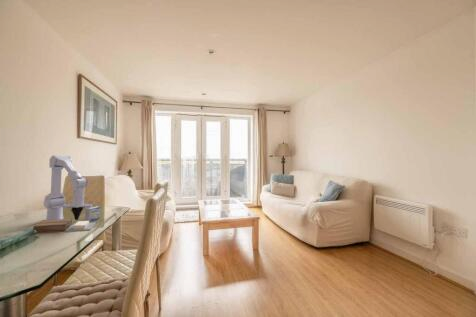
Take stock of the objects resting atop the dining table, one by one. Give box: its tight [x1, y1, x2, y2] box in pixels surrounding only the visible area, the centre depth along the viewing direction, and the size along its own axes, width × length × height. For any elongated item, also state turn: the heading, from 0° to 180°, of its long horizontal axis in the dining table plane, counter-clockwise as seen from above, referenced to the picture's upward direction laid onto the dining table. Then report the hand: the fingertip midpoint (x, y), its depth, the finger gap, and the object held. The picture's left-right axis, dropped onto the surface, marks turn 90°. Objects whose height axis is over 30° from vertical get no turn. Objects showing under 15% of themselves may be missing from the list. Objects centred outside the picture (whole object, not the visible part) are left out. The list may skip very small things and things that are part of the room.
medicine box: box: [84, 205, 101, 222], centre depth 143 cm, size 8×4×9 cm, turn 168°
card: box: [73, 220, 90, 229], centre depth 127 cm, size 9×6×2 cm, turn 24°
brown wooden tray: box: [32, 218, 73, 234], centre depth 121 cm, size 12×14×4 cm
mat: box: [64, 221, 97, 233], centre depth 127 cm, size 14×12×1 cm
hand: (76, 219), depth 126 cm, fingers closed
